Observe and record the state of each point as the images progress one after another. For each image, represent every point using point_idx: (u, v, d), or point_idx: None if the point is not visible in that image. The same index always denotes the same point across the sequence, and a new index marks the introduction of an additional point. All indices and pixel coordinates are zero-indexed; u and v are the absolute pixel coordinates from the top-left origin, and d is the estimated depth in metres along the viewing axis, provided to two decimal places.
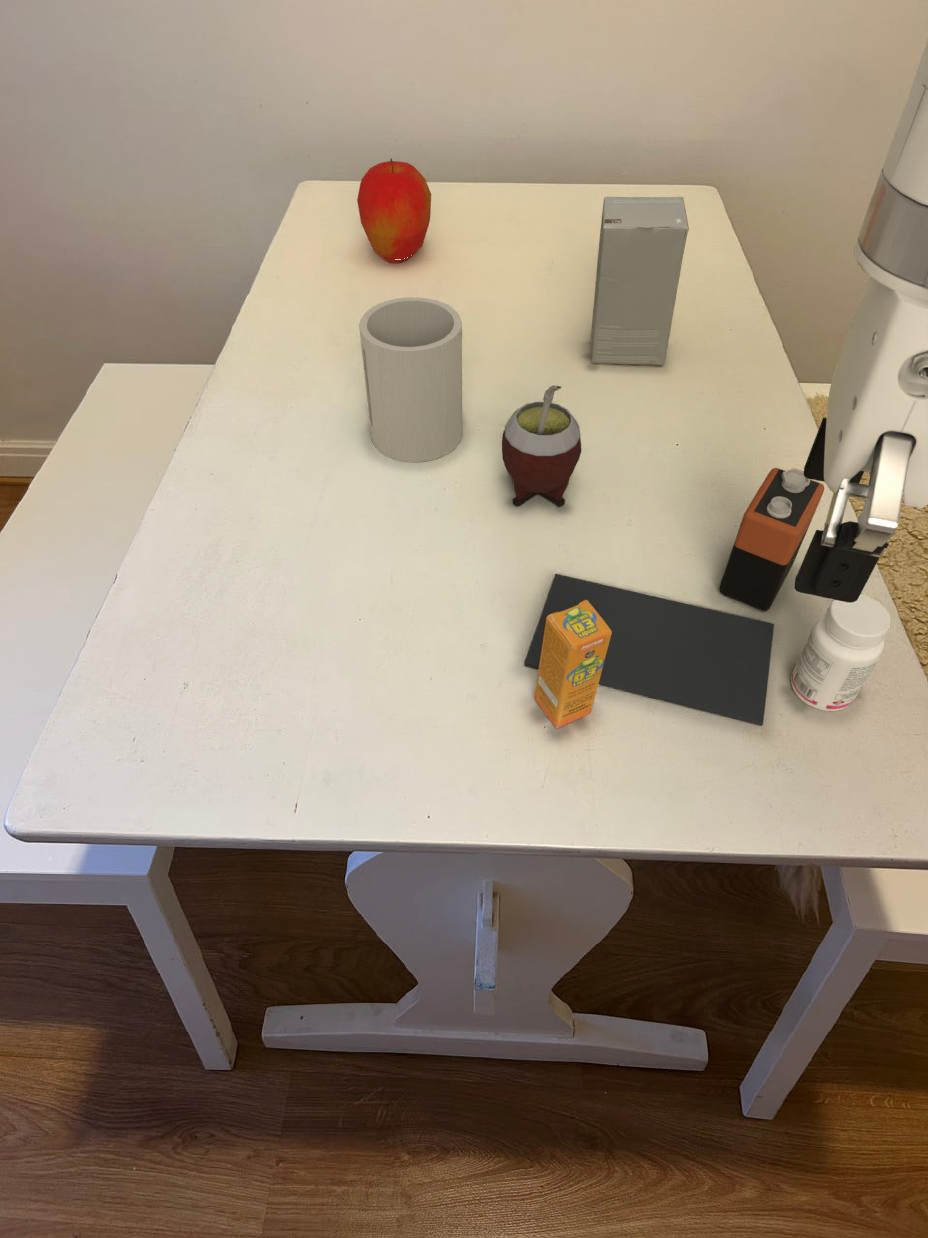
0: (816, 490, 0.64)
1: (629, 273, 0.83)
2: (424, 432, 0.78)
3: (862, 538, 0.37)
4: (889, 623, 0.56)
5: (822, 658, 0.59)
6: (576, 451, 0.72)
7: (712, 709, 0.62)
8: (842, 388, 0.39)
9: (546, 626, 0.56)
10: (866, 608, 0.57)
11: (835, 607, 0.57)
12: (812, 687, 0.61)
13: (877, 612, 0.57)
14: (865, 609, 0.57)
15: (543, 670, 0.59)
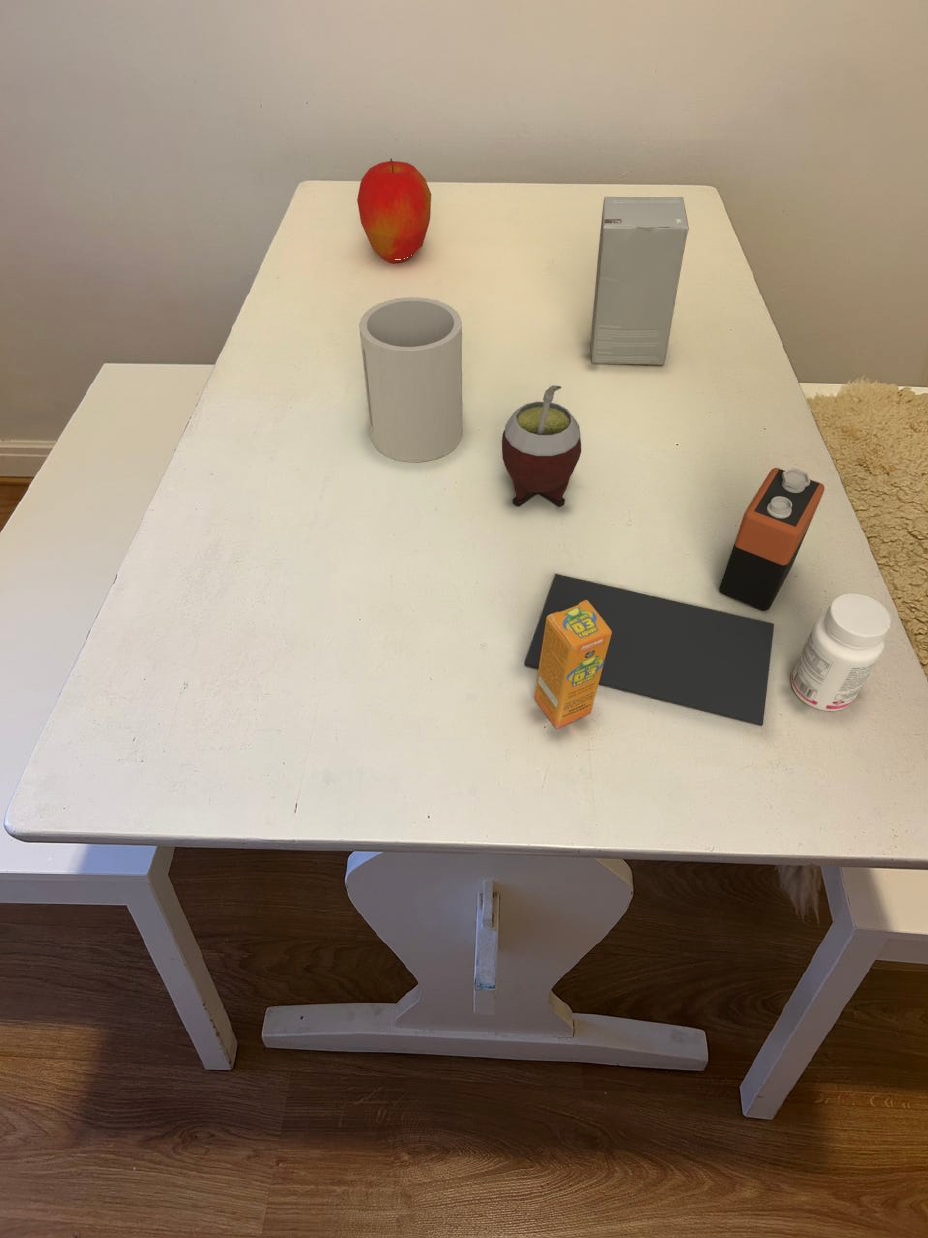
0: (816, 490, 0.64)
1: (629, 273, 0.83)
2: (424, 432, 0.78)
3: None
4: (889, 623, 0.56)
5: (822, 658, 0.59)
6: (576, 451, 0.72)
7: (712, 709, 0.62)
8: None
9: (546, 626, 0.56)
10: (866, 608, 0.57)
11: (835, 607, 0.57)
12: (812, 687, 0.61)
13: (877, 612, 0.57)
14: (865, 609, 0.57)
15: (543, 670, 0.59)
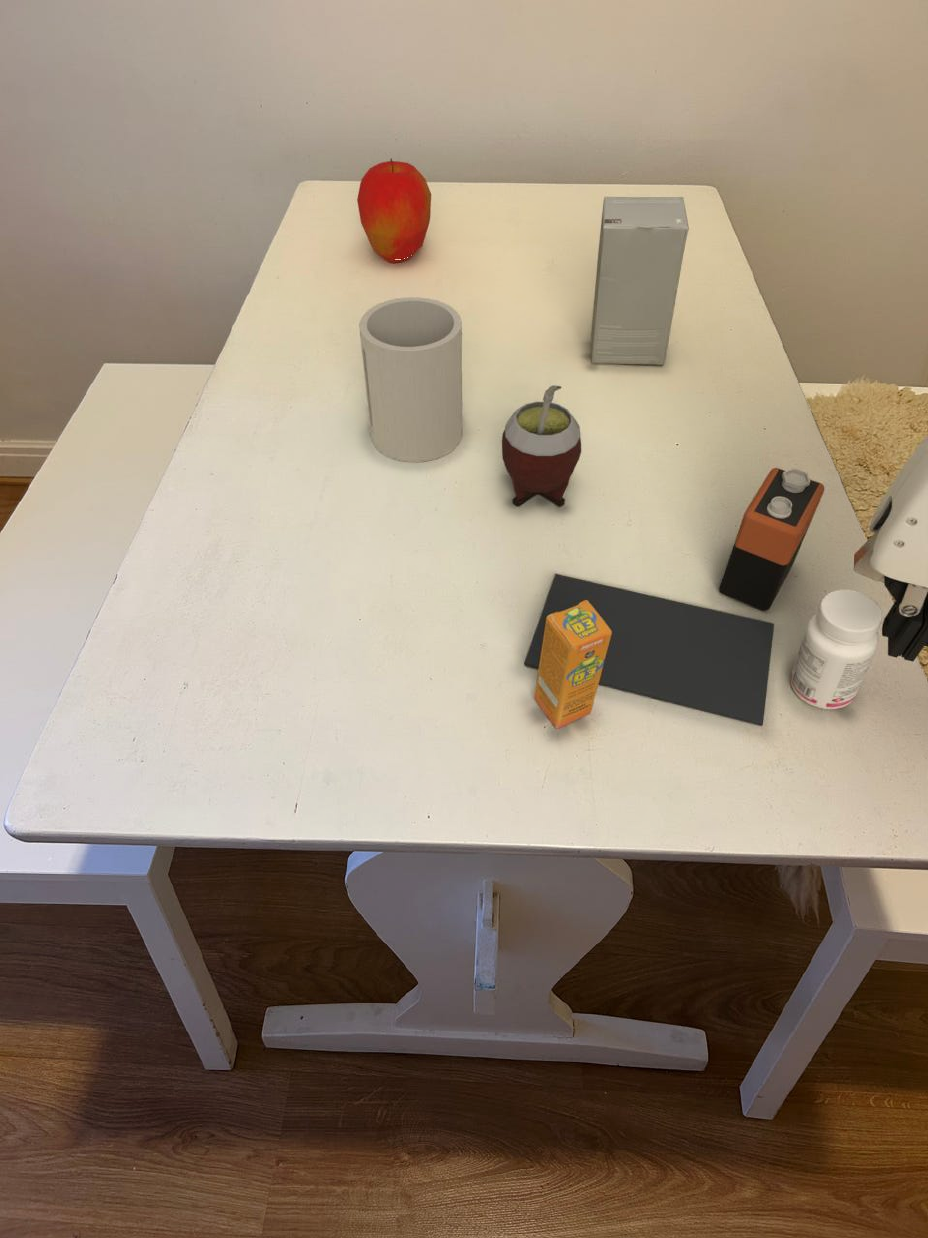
0: (816, 490, 0.64)
1: (629, 273, 0.83)
2: (424, 432, 0.78)
3: None
4: (880, 617, 0.56)
5: (816, 656, 0.59)
6: (576, 451, 0.72)
7: (712, 709, 0.62)
8: None
9: (546, 626, 0.56)
10: (857, 603, 0.57)
11: (825, 604, 0.58)
12: (810, 686, 0.61)
13: (868, 607, 0.57)
14: (856, 604, 0.57)
15: (543, 670, 0.59)
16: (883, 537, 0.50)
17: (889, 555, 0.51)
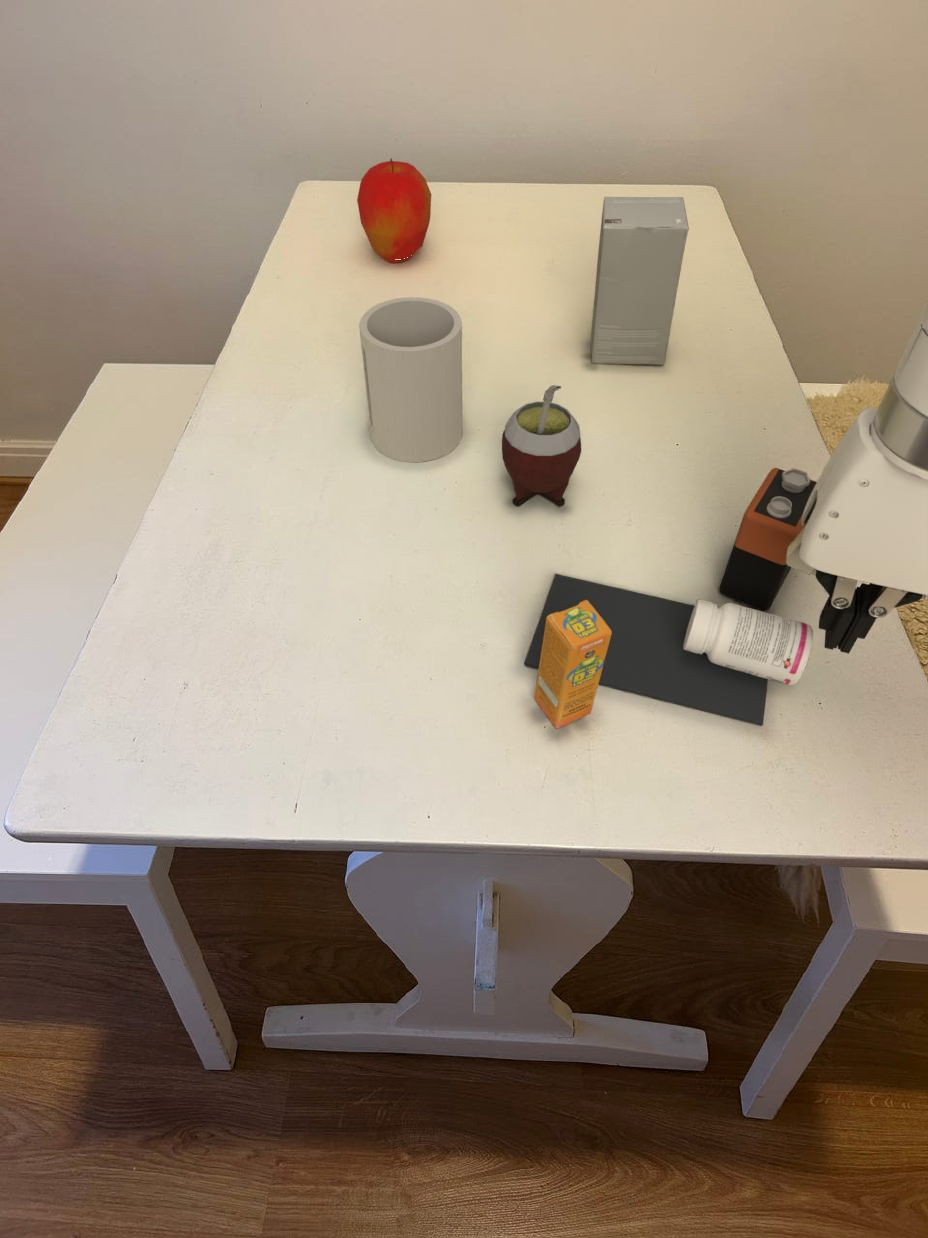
0: None
1: (629, 273, 0.83)
2: (424, 432, 0.78)
3: None
4: (696, 609, 0.62)
5: (724, 666, 0.63)
6: (576, 451, 0.72)
7: (712, 709, 0.62)
8: None
9: (546, 626, 0.56)
10: (692, 615, 0.64)
11: None
12: (766, 677, 0.62)
13: (694, 610, 0.63)
14: (692, 617, 0.64)
15: (543, 670, 0.59)
16: (809, 530, 0.51)
17: (815, 548, 0.52)
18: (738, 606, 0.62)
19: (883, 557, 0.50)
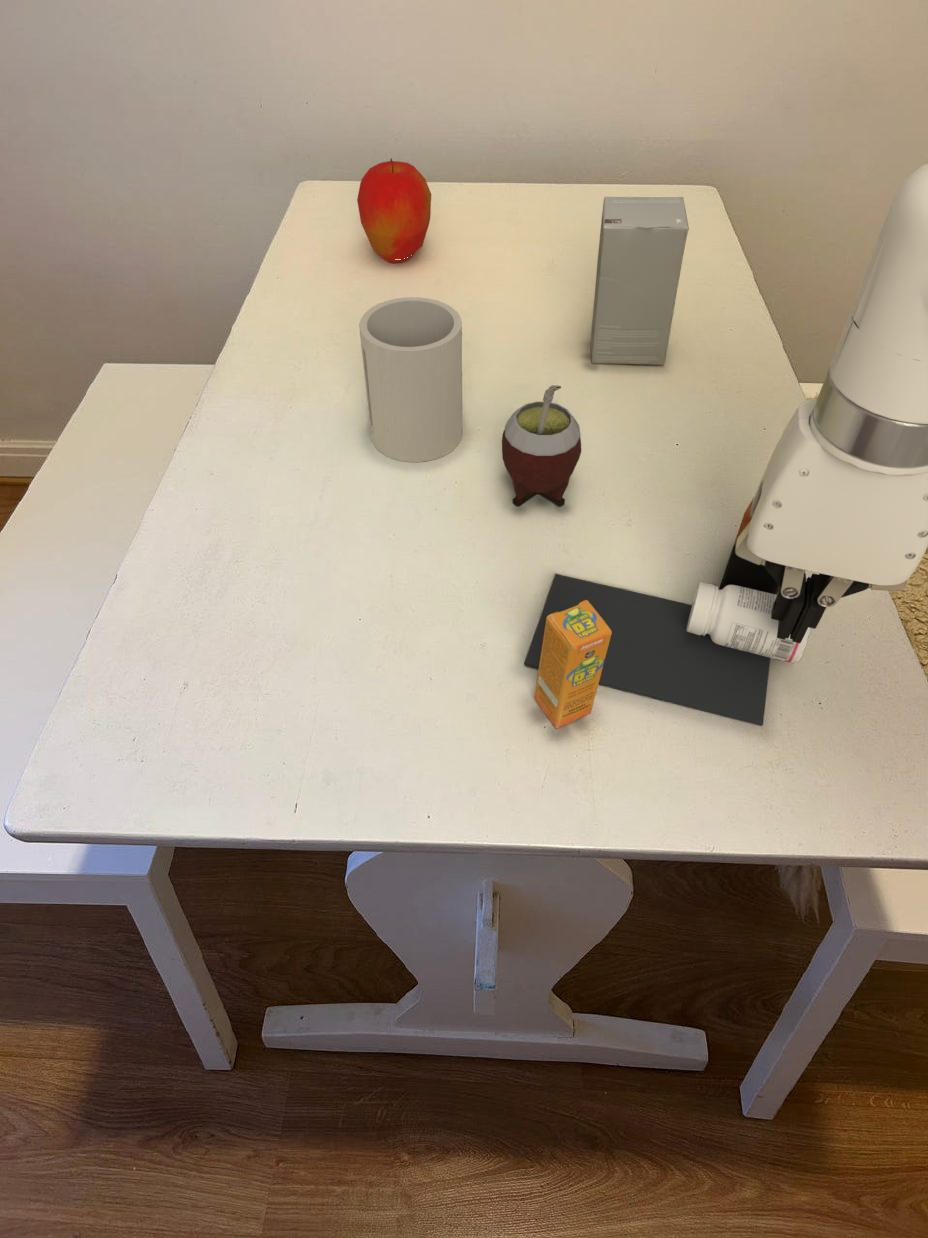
0: None
1: (629, 273, 0.83)
2: (424, 432, 0.78)
3: None
4: (699, 583, 0.65)
5: (733, 632, 0.62)
6: (576, 451, 0.72)
7: (712, 709, 0.62)
8: (873, 538, 0.49)
9: (546, 626, 0.56)
10: (693, 603, 0.66)
11: (687, 627, 0.65)
12: (776, 639, 0.62)
13: (695, 594, 0.66)
14: (692, 604, 0.66)
15: (543, 670, 0.59)
16: (754, 521, 0.52)
17: (761, 538, 0.52)
18: None
19: (827, 546, 0.51)
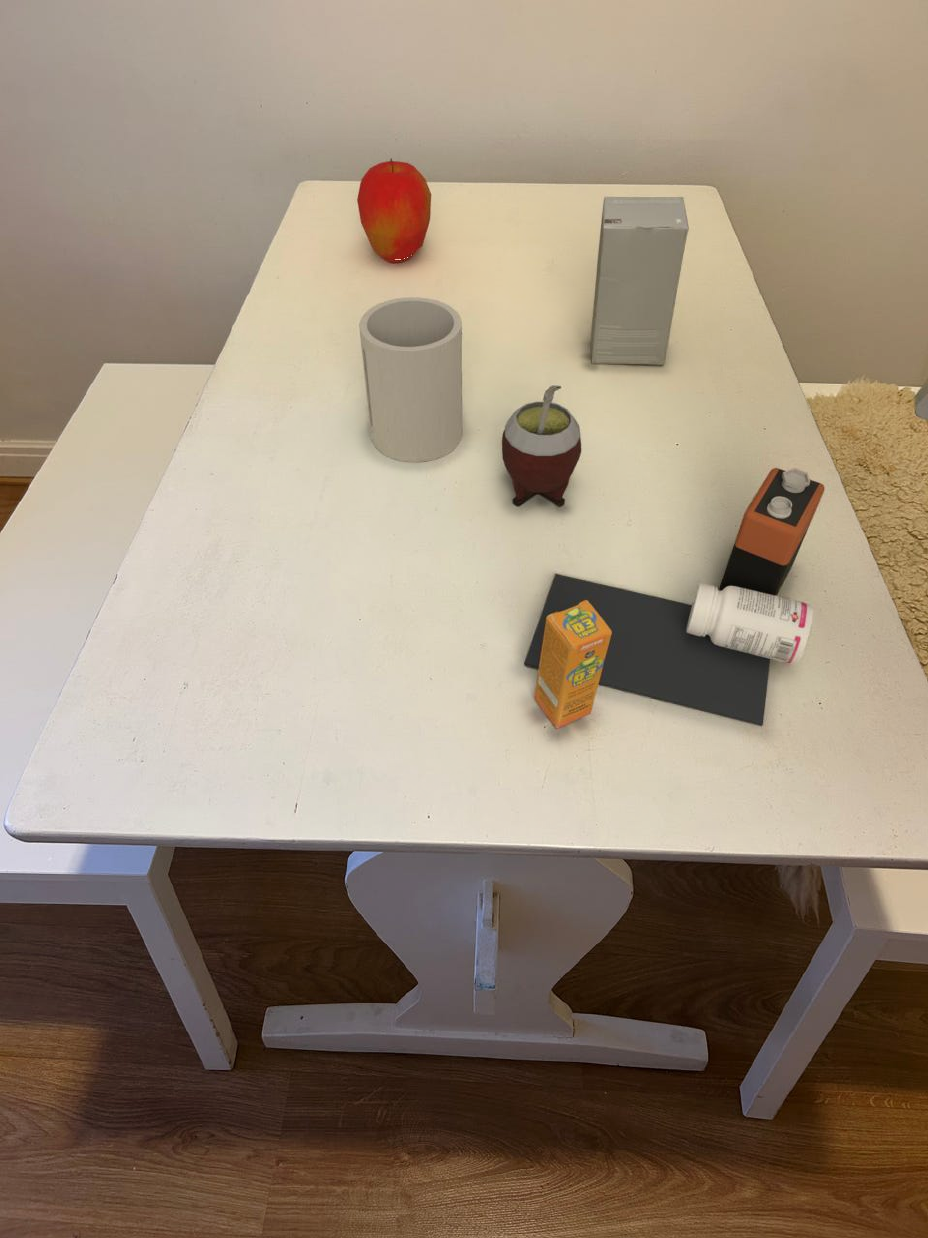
0: (816, 490, 0.64)
1: (629, 273, 0.83)
2: (424, 432, 0.78)
3: None
4: (699, 584, 0.65)
5: (732, 634, 0.62)
6: (576, 451, 0.72)
7: (712, 709, 0.62)
8: None
9: (546, 626, 0.56)
10: None
11: (687, 628, 0.65)
12: (776, 641, 0.62)
13: (695, 595, 0.65)
14: (692, 605, 0.65)
15: (543, 670, 0.59)
16: None
17: None
18: None
19: None
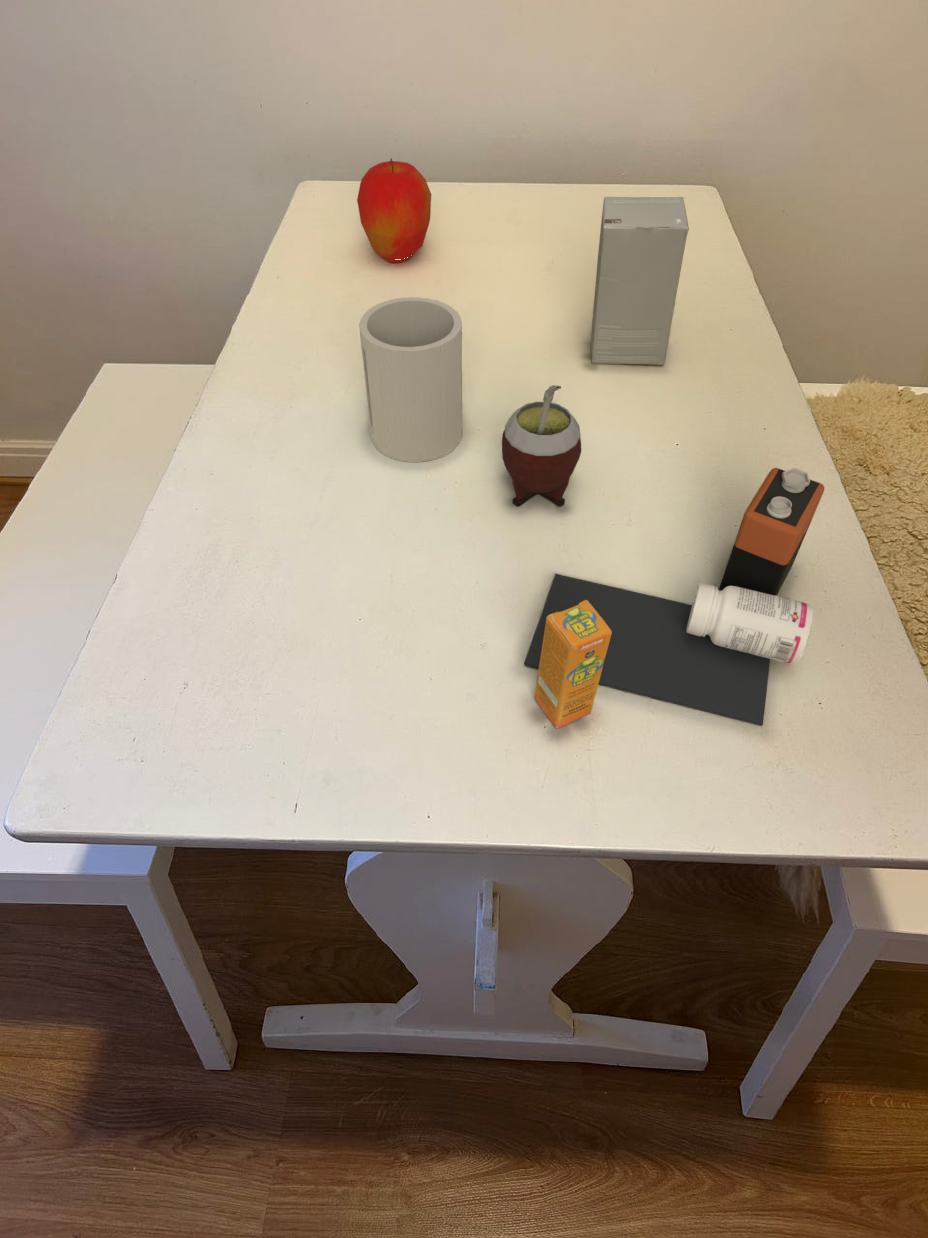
0: (816, 490, 0.64)
1: (629, 273, 0.83)
2: (424, 432, 0.78)
3: None
4: (699, 584, 0.65)
5: (732, 634, 0.62)
6: (576, 451, 0.72)
7: (712, 709, 0.62)
8: None
9: (546, 626, 0.56)
10: None
11: (687, 628, 0.65)
12: (776, 641, 0.62)
13: (695, 595, 0.65)
14: (692, 605, 0.65)
15: (543, 670, 0.59)
16: None
17: None
18: None
19: None
